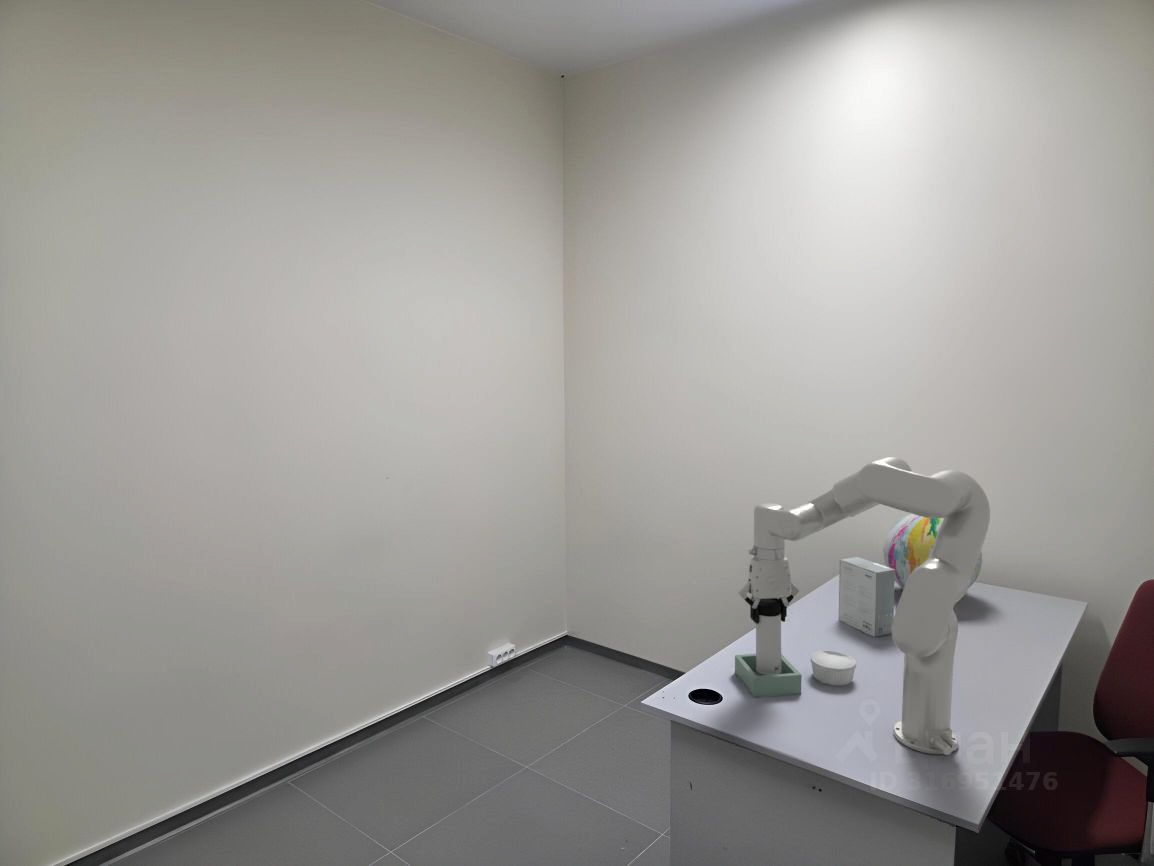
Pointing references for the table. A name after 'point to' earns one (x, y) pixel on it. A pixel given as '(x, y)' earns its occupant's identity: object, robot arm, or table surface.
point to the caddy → (767, 678)
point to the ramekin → (833, 667)
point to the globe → (913, 546)
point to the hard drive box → (866, 596)
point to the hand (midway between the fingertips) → (768, 620)
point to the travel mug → (768, 637)
